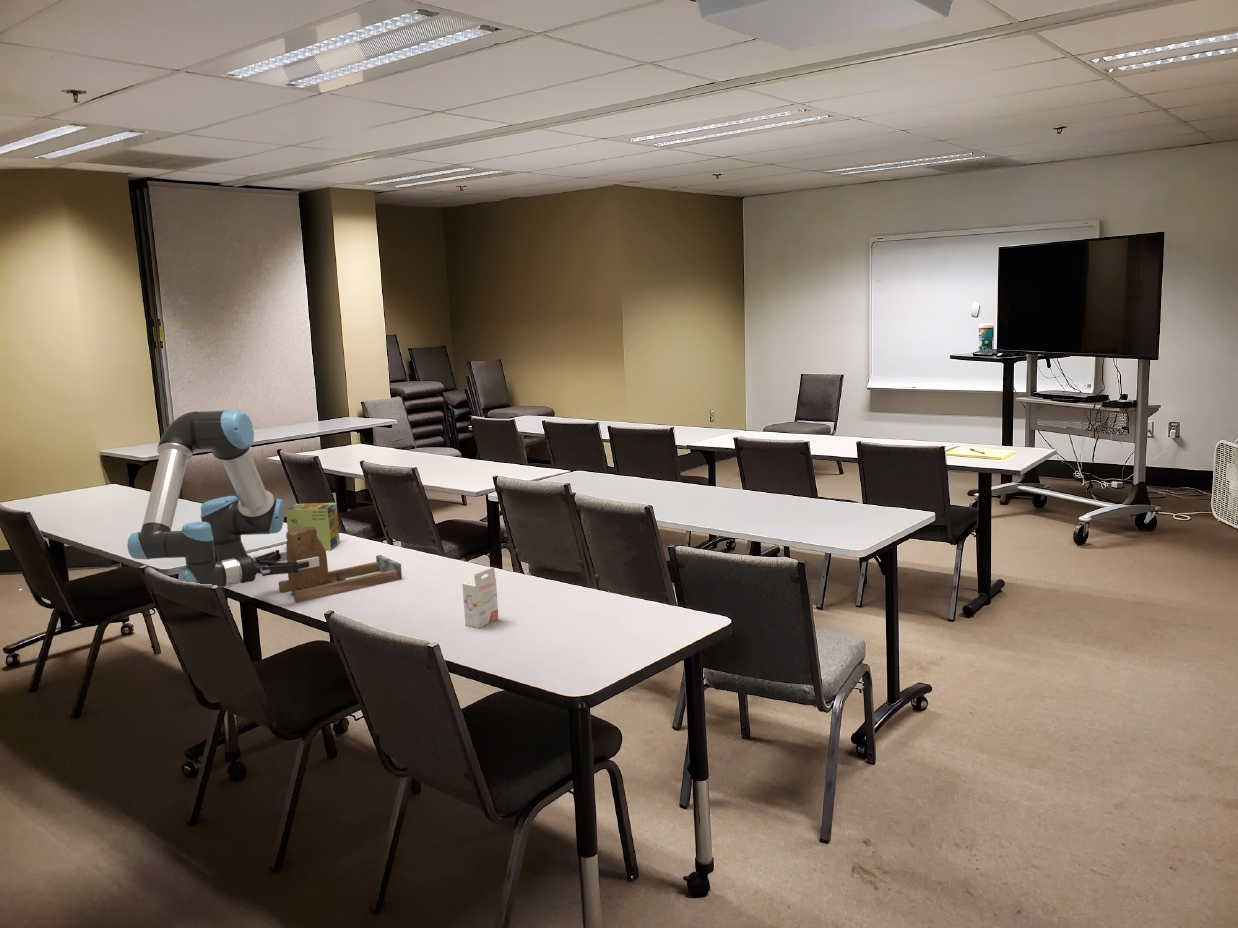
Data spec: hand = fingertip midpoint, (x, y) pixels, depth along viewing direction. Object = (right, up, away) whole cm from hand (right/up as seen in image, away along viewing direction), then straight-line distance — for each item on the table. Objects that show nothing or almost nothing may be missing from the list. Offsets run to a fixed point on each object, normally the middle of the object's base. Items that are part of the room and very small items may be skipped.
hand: (310, 556), depth 279 cm
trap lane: (+7, -10, +8) cm, 14 cm away
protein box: (-17, -2, +56) cm, 59 cm away
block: (-1, -11, +2) cm, 11 cm away
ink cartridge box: (+57, -15, -30) cm, 66 cm away
